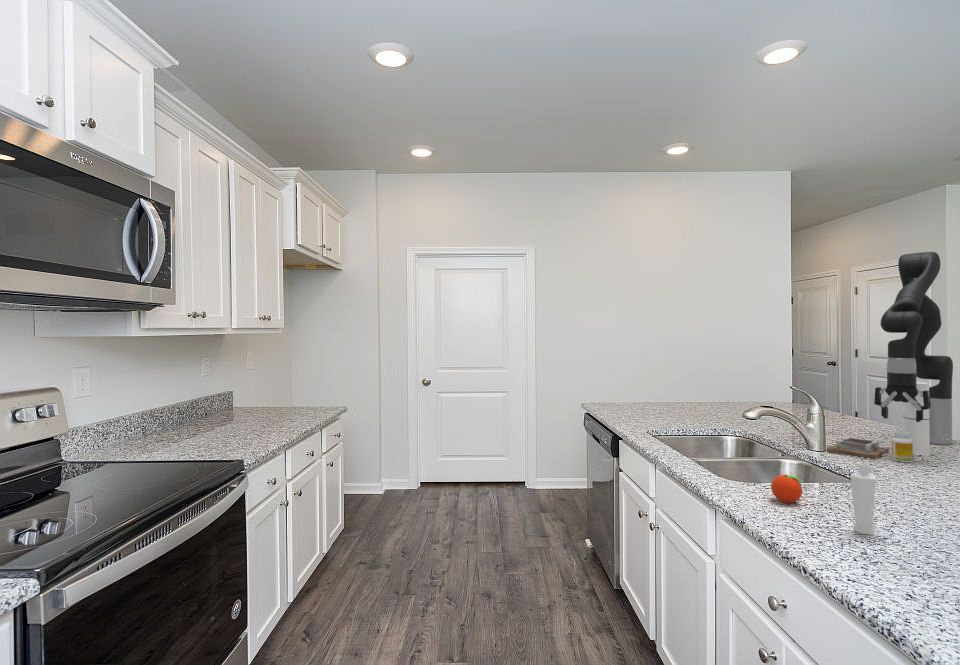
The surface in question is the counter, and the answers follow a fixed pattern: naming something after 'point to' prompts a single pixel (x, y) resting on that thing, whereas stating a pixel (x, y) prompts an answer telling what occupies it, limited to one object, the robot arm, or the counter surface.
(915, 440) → the cylindrical container
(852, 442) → the socket board
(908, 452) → the supplement bottle
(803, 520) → the counter surface
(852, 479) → the perfume bottle
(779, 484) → the clementine
